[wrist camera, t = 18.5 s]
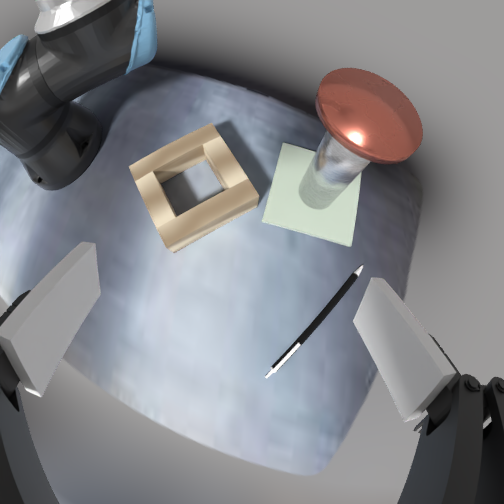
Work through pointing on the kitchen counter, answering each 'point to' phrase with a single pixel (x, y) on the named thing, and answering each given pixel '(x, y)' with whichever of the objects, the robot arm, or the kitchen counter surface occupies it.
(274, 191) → the sage pad
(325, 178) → the steel peg
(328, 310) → the pen
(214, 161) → the block
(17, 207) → the kitchen counter surface
